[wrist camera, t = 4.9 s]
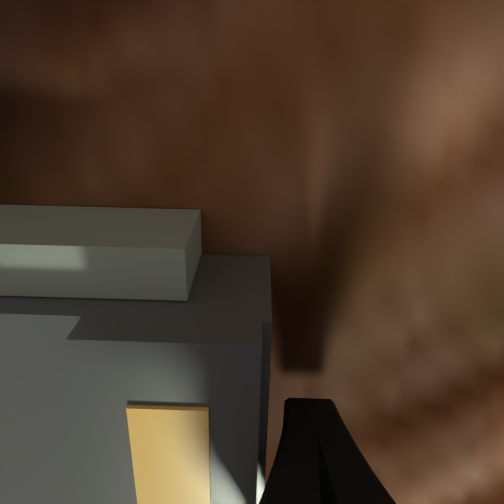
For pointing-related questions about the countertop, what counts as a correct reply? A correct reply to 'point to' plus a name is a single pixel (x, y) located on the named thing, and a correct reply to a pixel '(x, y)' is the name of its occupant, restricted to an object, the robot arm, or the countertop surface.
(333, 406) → the robot arm
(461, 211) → the countertop surface
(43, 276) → the deck mount
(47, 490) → the dark grey square block
